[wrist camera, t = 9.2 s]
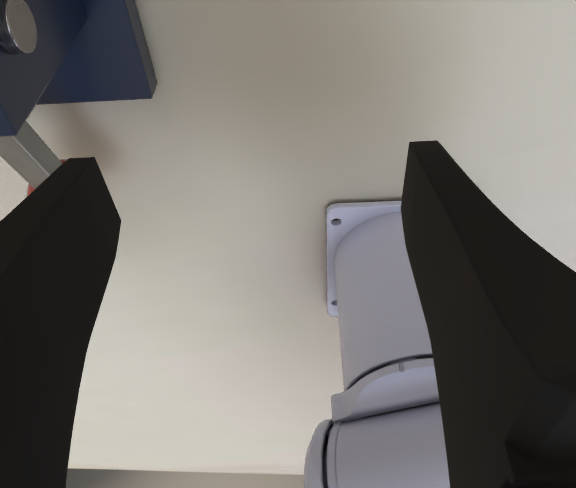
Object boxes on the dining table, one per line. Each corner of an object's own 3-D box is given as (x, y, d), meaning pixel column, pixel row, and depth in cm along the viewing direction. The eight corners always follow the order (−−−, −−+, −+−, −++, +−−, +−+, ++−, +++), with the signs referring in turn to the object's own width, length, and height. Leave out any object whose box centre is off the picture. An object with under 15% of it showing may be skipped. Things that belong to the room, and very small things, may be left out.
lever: (118, 180, 24) (110, 241, 23) (54, 183, 24) (43, 243, 23) (-54, -62, 13) (-87, 30, 12) (-171, -54, 13) (-214, 38, 12)
